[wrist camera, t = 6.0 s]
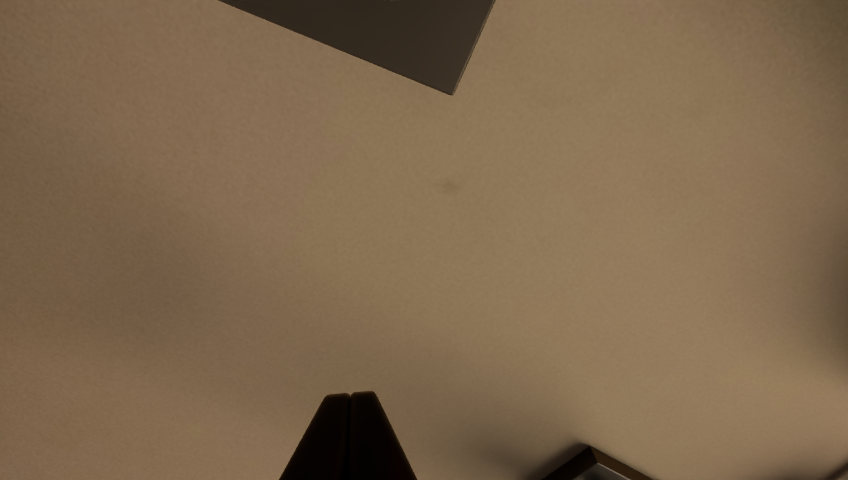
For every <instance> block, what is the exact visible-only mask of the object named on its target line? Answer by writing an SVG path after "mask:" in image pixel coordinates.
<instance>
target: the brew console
mask: <svg viewBox="0 0 848 480" xmlns="http://www.w3.org/2000/svg"><path fill="white" fill-rule="evenodd" d="M219 1H221V2H224V3H226V4H229V5H231V6H233V7H236V8H238V9H241V10H243V11H246V12H248V13H251V14H253V15H255V16H258V17H260V18H263V19H265V20H268V21H270V22H273V23H275V24H277V25H280V26H282V27H285V28H287V29H290V30H292V31H294V32H297V33H299V34H302V35H304V36H307V37H309V38H312V39H314V40H316V41H319V42H321V43H324V44H326V45H329V46H331V47H334V48H336V49H338V50H341V51H343V52H346V53H348V54H351V55H353V56H355V57H358V58H360V59H363V60H365V61H368V62H370V63H373V64H375V65H377V66H380V67H382V68H385V69H387V70H390V71H392V72H395V73H397V74H399V75H402V76H404V77H407V78H409V79H412V80H414V81H417V82H419V83H421V84H424V85H426V86H429V87H431V88H434V89H436V90H438V91H441V92H443V93H446V94H448V95H453V94H454V93H455V91H456V89H457V86H458V84H459V82H460V80H461V77H462V75H463V73H464V70H465V68H466V66H467V64H468V61H469V59H470V57H471V55H472V52H473V50H474V48H475V46H476V43H477V41H478V39H479V37H480V34H481V32H482V30H483V27H484V25H485V23H486V21H487V18H488V16H489V14H490V12H491V9H492V7H493V5H494V3H495V0H219Z"/></svg>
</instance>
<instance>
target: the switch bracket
mask: <svg viewBox="0 0 848 480" xmlns="http://www.w3.org/2000/svg"><path fill="white" fill-rule="evenodd" d="M543 480H652V479H650V478H648V477H646V476H644V475H643V474H641V473H639V472H637V471H635V470H633V469H631V468H629V467H628V466H626V465H624V464H622V463H620V462H618V461H616V460H615V459H613V458H611V457H609V456H607V455H605V454H603V453H601V452H600V451H598V450H596V449H594V448H592V447H589V448H587V449H586V450H585V451H583V452H582V453H580V454H579V455H578V456H576V457H575V458H573V459H572V460H570V461H569V462H568V463H566V464H565V465H563V466H562V467H560V468H559V469H558V470H556V471H555V472H553V473H552V474H551V475H549V476H548V477H546V478H545V479H543Z"/></svg>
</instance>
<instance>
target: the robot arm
mask: <svg viewBox="0 0 848 480" xmlns="http://www.w3.org/2000/svg"><path fill="white" fill-rule="evenodd" d="M279 480H417V478H416V476H415V474H414V472H413V470H412V468H411V466H410V463H409V461H408V459H407V457H406V455H405V453H404V451H403V449H402V447H401V445H400V443H399V441H398V439H397V437H396V434H395V432H394V430H393V428H392V426H391V424H390V422H389V420H388V418H387V416H386V414H385V412H384V410H383V408H382V406H381V403H380V401H379V399H378V397H377V395H376V394H375V393H374V392H373V391H365V392H355V393H353V394H352V395H351V397H350V395H349V394H347V393H342V394H330V395H327V396H326V397H325V398H324V399H323V401H322V403H321V405H320V406H319V408H318V410H317V412H316V414H315V416H314V417H313V419H312V421H311V423H310V425H309V426H308V428H307V430H306V432H305V434H304V435H303V437H302V439H301V441H300V443H299V445H298V446H297V448H296V450H295V452H294V454H293V455H292V457H291V459H290V461H289V463H288V464H287V466H286V468H285V470H284V472H283V473H282V475H281V477H280V479H279Z"/></svg>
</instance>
